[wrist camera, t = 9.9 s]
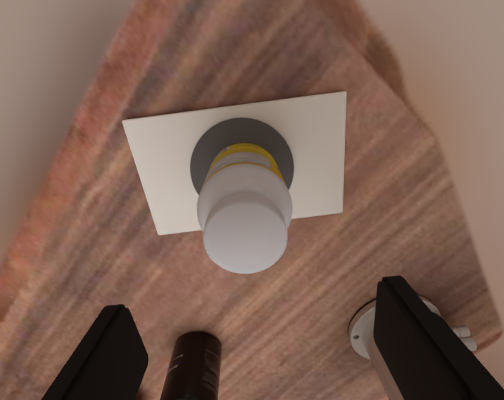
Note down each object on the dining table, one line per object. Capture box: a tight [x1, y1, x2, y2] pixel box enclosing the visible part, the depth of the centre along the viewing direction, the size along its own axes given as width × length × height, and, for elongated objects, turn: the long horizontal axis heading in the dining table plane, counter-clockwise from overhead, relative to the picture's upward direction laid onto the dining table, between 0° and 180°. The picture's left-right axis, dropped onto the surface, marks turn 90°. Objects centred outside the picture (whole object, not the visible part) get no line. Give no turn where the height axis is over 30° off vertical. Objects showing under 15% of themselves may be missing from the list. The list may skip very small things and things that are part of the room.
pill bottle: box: [197, 142, 293, 274], centre depth 19 cm, size 6×6×12 cm
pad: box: [190, 118, 294, 195], centre depth 24 cm, size 10×10×1 cm
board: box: [122, 91, 347, 235], centre depth 25 cm, size 20×12×1 cm, turn 97°
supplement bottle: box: [160, 333, 221, 400], centre depth 31 cm, size 7×7×12 cm
